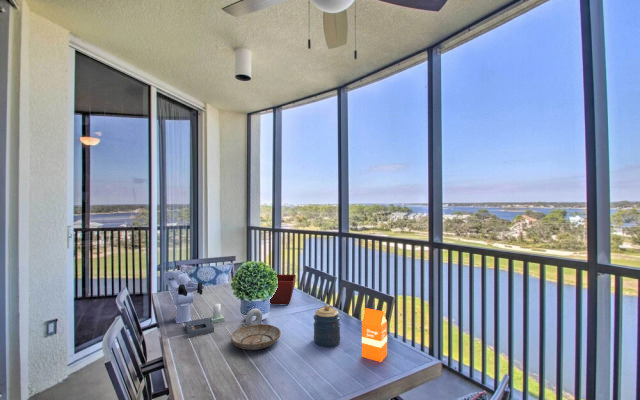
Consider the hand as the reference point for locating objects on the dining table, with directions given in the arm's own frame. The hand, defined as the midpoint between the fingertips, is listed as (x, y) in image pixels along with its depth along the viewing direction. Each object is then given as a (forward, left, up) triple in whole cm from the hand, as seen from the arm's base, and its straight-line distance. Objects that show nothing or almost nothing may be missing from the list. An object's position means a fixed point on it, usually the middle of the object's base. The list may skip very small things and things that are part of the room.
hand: (194, 293), depth 156 cm
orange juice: (+67, +65, -20) cm, 96 cm away
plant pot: (-22, +58, -20) cm, 65 cm away
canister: (+45, +54, -20) cm, 73 cm away
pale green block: (-10, +13, -20) cm, 26 cm away
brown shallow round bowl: (+29, +24, -20) cm, 43 cm away
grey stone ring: (+10, +29, -20) cm, 37 cm away
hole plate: (-2, +3, -20) cm, 20 cm away
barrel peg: (-10, +13, -18) cm, 24 cm away
